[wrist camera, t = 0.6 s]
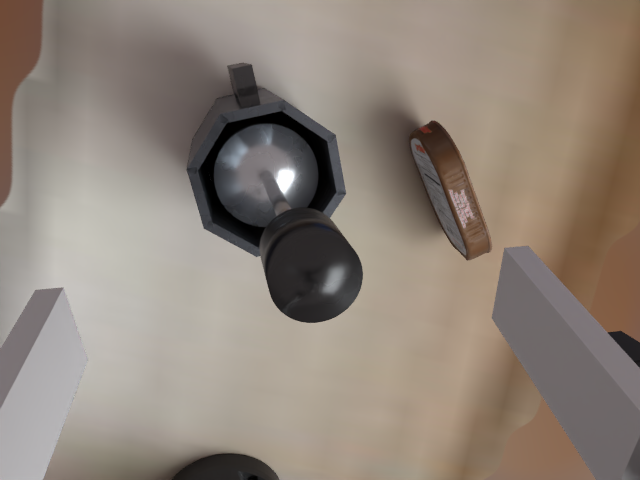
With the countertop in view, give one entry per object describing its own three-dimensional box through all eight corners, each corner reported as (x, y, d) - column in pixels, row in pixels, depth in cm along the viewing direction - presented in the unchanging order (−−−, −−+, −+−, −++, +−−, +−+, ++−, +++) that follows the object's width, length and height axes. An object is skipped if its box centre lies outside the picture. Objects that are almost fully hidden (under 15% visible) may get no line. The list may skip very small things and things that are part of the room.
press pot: (318, 189, 54) (353, 232, 41) (213, 215, 52) (215, 267, 40) (291, 51, 49) (320, 50, 36) (174, 75, 47) (161, 83, 35)
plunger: (324, 210, 42) (417, 335, 24) (228, 234, 41) (245, 384, 23) (305, 112, 39) (394, 165, 21) (201, 135, 38) (194, 213, 20)
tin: (467, 234, 59) (506, 262, 51) (443, 247, 59) (478, 276, 51) (422, 114, 53) (458, 124, 46) (395, 128, 53) (426, 140, 46)
